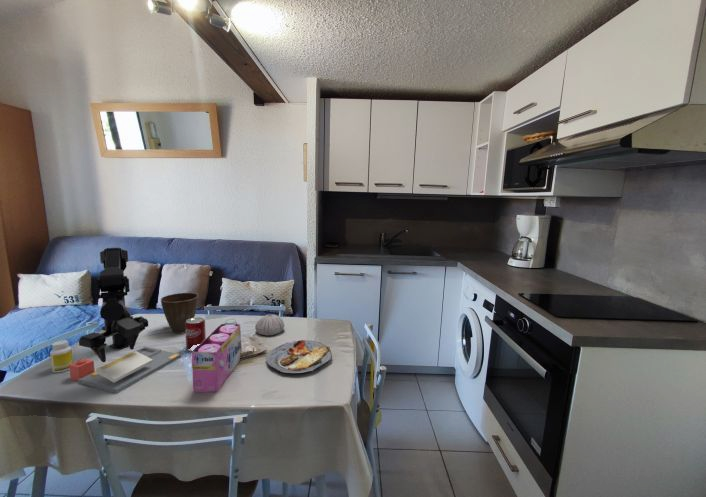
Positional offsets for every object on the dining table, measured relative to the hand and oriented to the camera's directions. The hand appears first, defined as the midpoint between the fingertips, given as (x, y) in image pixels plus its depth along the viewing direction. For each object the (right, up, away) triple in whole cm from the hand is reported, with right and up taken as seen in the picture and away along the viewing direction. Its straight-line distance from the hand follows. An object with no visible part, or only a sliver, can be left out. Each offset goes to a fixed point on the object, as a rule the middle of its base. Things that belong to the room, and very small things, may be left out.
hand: (118, 355), depth 102 cm
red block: (-12, -7, 0) cm, 14 cm away
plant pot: (-1, -2, +39) cm, 40 cm away
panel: (+1, -7, +6) cm, 9 cm away
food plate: (+58, -8, +16) cm, 61 cm away
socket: (0, -5, +13) cm, 14 cm away
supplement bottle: (-23, -7, +5) cm, 24 cm away
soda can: (+15, -5, +23) cm, 27 cm away
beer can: (+29, -6, +22) cm, 37 cm away
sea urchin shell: (+40, -3, +41) cm, 57 cm away
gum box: (+32, -8, +5) cm, 34 cm away
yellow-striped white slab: (+3, -3, 0) cm, 4 cm away
